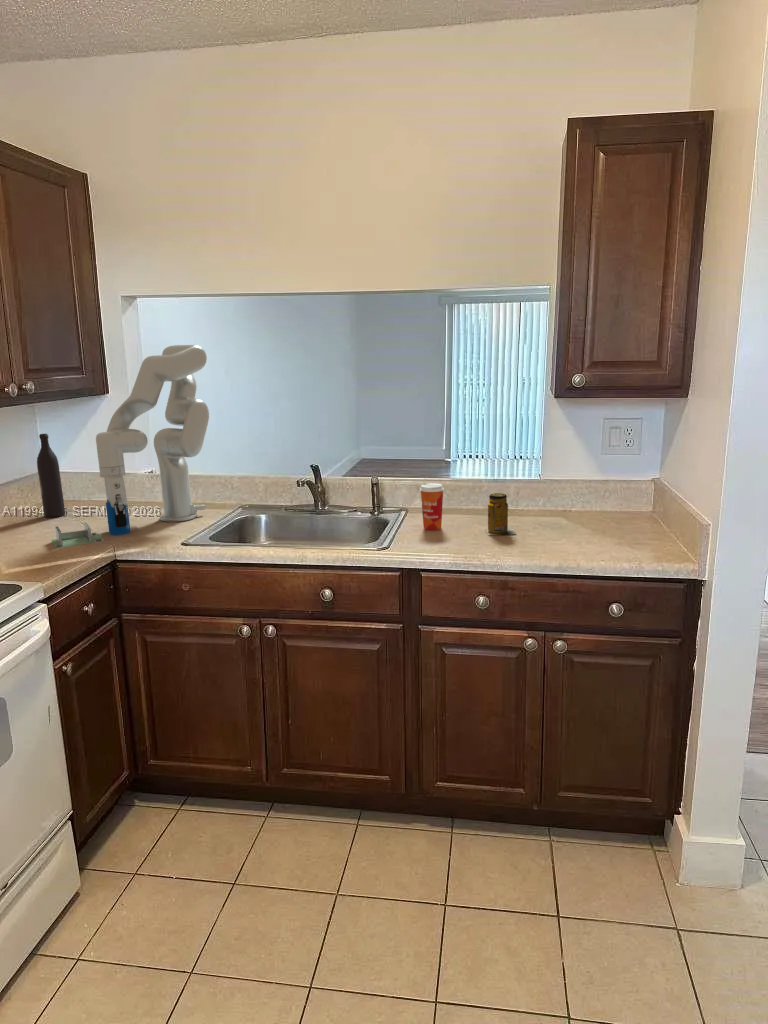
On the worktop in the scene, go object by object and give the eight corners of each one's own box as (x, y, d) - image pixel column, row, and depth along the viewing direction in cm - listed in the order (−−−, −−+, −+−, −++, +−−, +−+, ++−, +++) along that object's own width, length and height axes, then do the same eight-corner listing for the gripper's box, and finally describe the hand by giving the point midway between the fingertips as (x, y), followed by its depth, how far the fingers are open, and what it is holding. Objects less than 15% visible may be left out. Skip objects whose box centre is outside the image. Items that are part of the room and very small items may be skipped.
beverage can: (123, 538, 227) (119, 501, 224) (105, 537, 228) (101, 501, 226) (134, 532, 233) (130, 497, 230) (116, 532, 234) (112, 496, 232)
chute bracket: (87, 535, 228) (86, 521, 227) (92, 541, 220) (90, 527, 219) (56, 540, 223) (54, 526, 222) (60, 546, 216) (58, 532, 215)
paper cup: (415, 528, 227) (414, 485, 224) (430, 523, 233) (430, 481, 230) (434, 532, 222) (434, 488, 219) (449, 527, 228) (449, 484, 224)
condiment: (485, 529, 224) (485, 492, 221) (512, 529, 224) (512, 491, 221) (488, 536, 217) (488, 497, 214) (516, 535, 217) (516, 496, 214)
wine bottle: (59, 512, 265) (47, 432, 258) (69, 514, 261) (58, 433, 254) (40, 516, 260) (28, 434, 253) (51, 519, 256) (39, 435, 249)
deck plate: (98, 535, 231) (98, 531, 231) (105, 543, 221) (104, 539, 221) (51, 542, 224) (51, 538, 224) (56, 551, 214) (55, 547, 214)
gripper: (130, 473, 220) (136, 527, 224) (119, 466, 235) (125, 516, 239) (104, 476, 217) (111, 530, 221) (95, 468, 231) (101, 520, 235)
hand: (118, 523), depth 230 cm, fingers open, 9 cm apart
